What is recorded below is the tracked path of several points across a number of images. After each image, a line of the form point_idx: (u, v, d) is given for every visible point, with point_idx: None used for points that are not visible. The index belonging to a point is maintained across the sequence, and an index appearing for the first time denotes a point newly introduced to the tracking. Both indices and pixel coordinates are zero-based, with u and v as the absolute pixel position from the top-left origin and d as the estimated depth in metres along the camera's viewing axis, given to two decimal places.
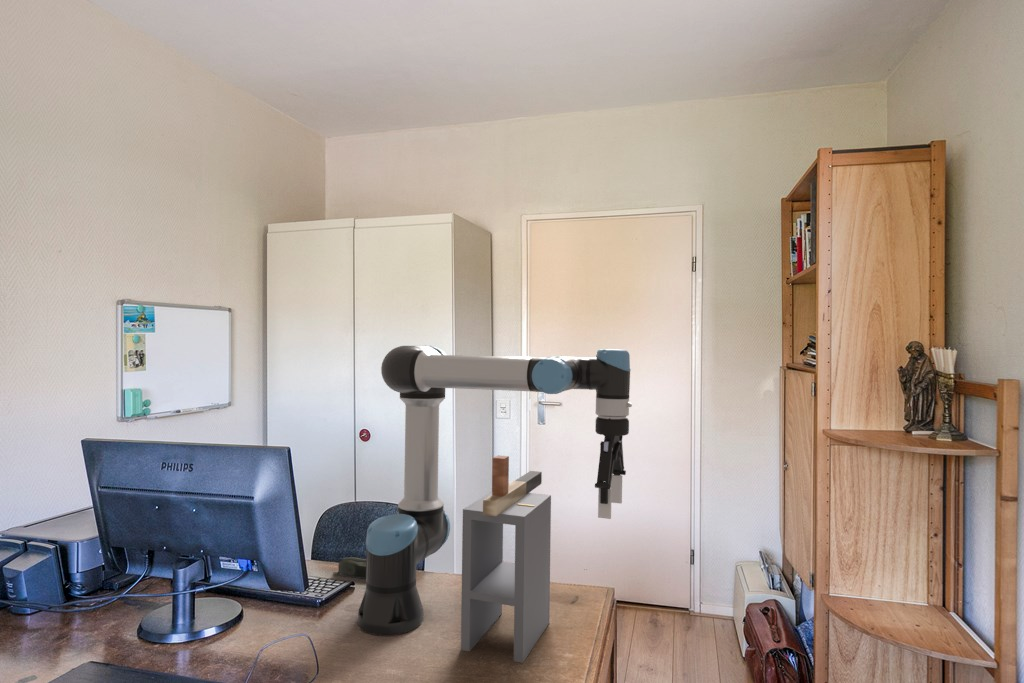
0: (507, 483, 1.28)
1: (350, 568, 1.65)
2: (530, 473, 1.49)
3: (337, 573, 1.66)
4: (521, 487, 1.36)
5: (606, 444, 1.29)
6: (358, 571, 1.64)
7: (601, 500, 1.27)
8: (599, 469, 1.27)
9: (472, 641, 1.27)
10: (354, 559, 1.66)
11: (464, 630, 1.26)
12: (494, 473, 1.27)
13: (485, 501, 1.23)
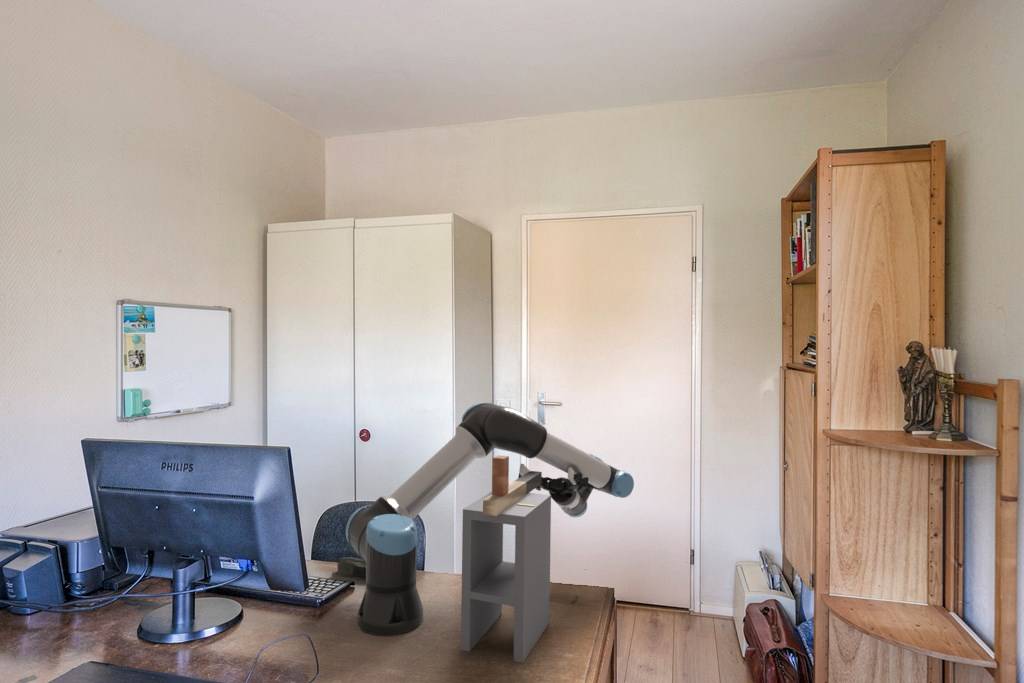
0: (507, 483, 1.28)
1: (348, 568, 1.64)
2: (530, 473, 1.49)
3: (336, 573, 1.66)
4: (521, 487, 1.36)
5: None
6: (356, 571, 1.64)
7: (578, 476, 1.59)
8: None
9: (472, 641, 1.27)
10: (352, 559, 1.66)
11: (464, 630, 1.26)
12: (494, 473, 1.27)
13: (485, 501, 1.23)
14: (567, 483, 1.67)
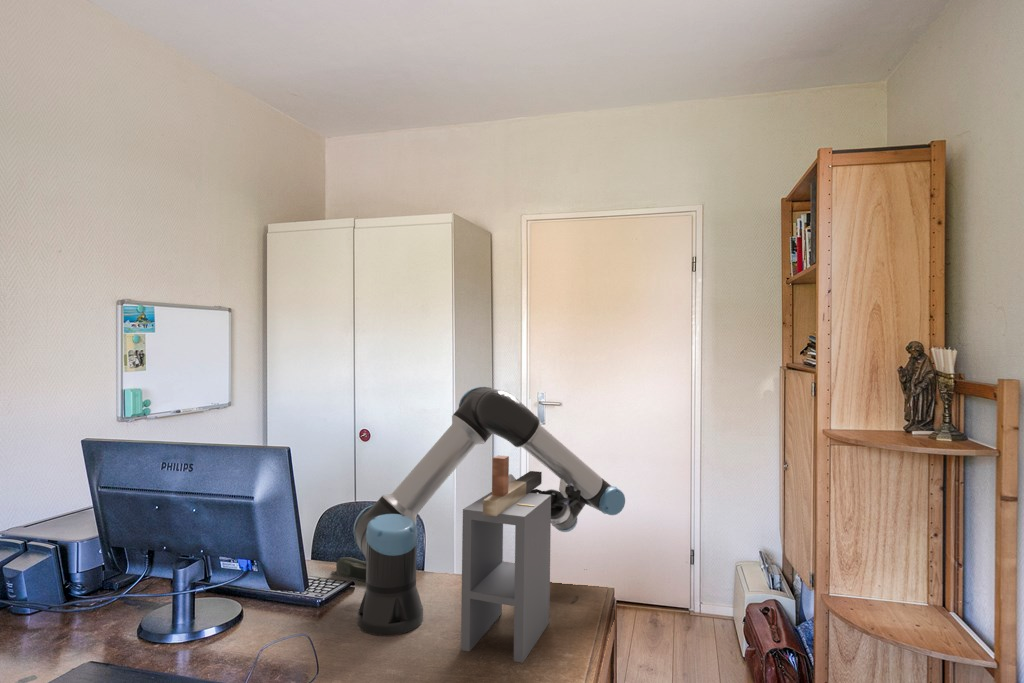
0: (507, 483, 1.28)
1: (345, 568, 1.64)
2: (530, 473, 1.49)
3: (335, 572, 1.67)
4: (521, 487, 1.36)
5: None
6: (353, 572, 1.63)
7: (570, 488, 1.49)
8: None
9: (472, 641, 1.27)
10: (350, 559, 1.65)
11: (464, 630, 1.26)
12: (494, 473, 1.27)
13: (485, 501, 1.23)
14: (558, 496, 1.57)
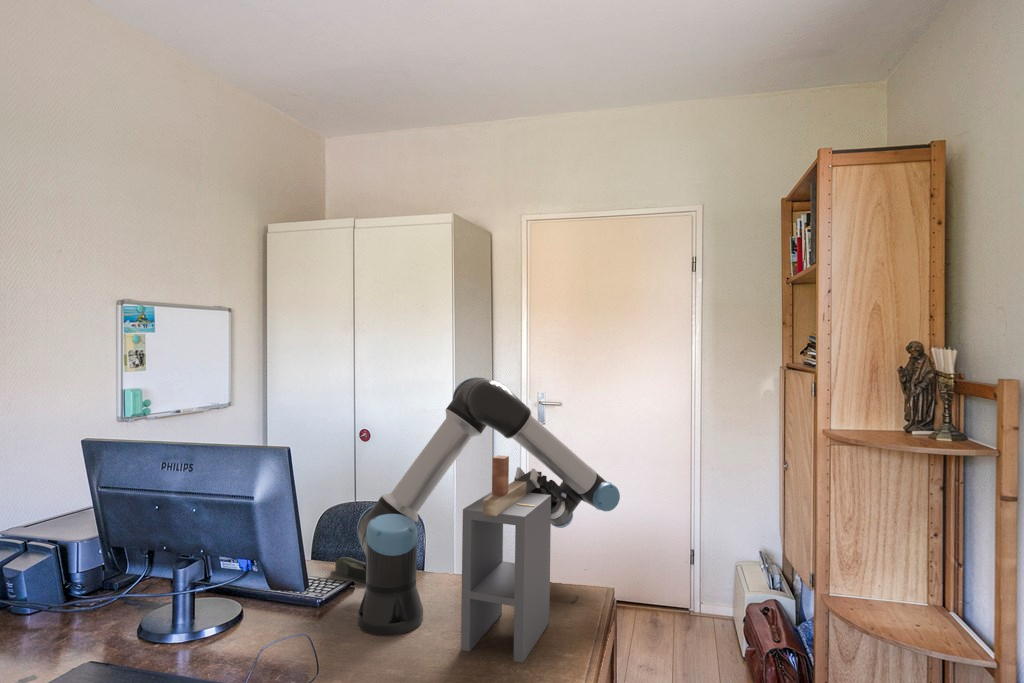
0: (507, 483, 1.28)
1: (343, 568, 1.64)
2: (530, 473, 1.49)
3: (334, 572, 1.67)
4: (521, 487, 1.36)
5: (565, 496, 1.54)
6: (350, 572, 1.63)
7: (542, 478, 1.46)
8: (557, 485, 1.51)
9: (472, 641, 1.27)
10: (349, 559, 1.65)
11: (464, 630, 1.26)
12: (494, 473, 1.27)
13: (485, 501, 1.23)
14: None
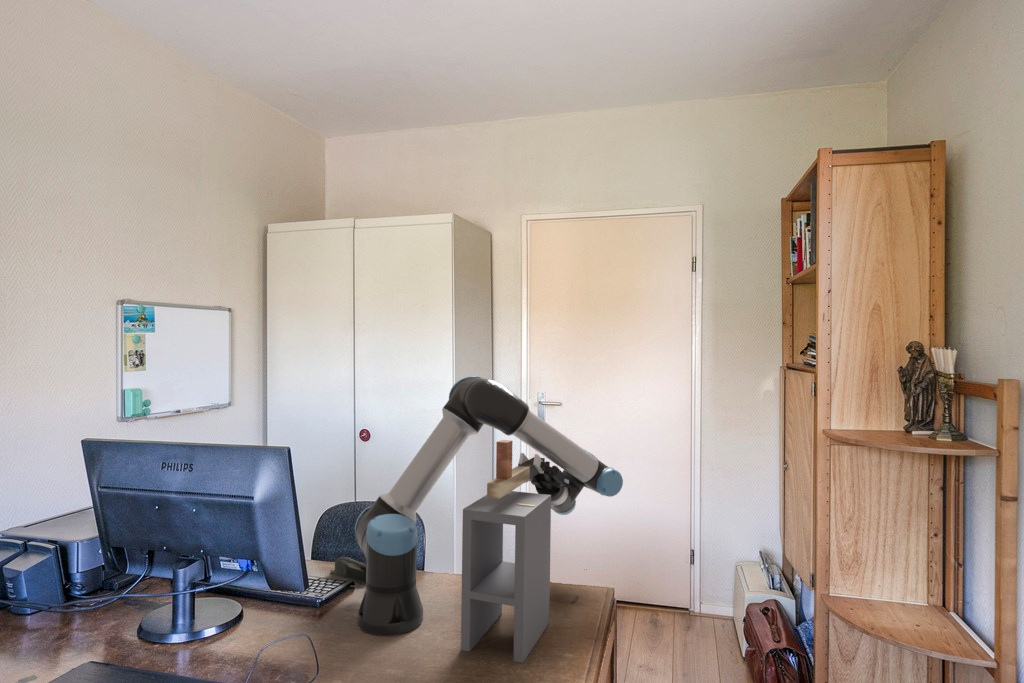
0: (511, 467, 1.31)
1: (342, 568, 1.64)
2: (533, 459, 1.51)
3: (333, 571, 1.67)
4: (524, 472, 1.39)
5: (568, 482, 1.56)
6: (348, 572, 1.63)
7: (545, 463, 1.48)
8: (560, 471, 1.53)
9: (472, 641, 1.27)
10: (347, 559, 1.65)
11: (464, 630, 1.26)
12: (498, 457, 1.29)
13: (489, 484, 1.25)
14: None
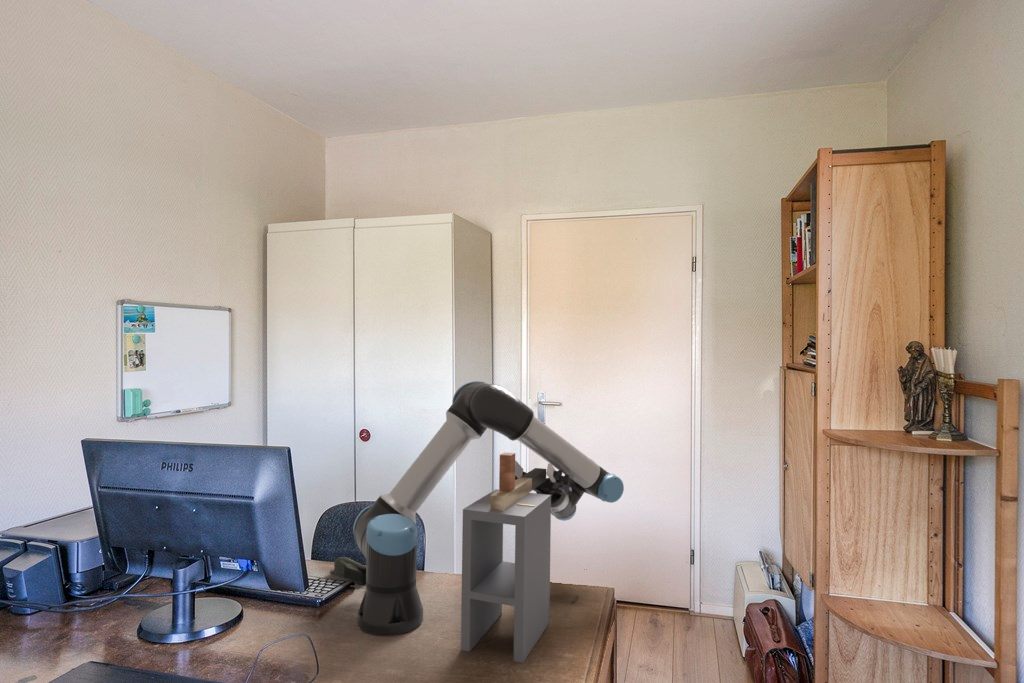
0: (514, 479, 1.32)
1: (340, 568, 1.64)
2: (535, 470, 1.53)
3: (333, 571, 1.67)
4: (527, 483, 1.40)
5: (571, 490, 1.59)
6: (346, 572, 1.63)
7: (558, 473, 1.49)
8: (569, 480, 1.54)
9: (472, 641, 1.27)
10: (346, 559, 1.65)
11: (464, 630, 1.26)
12: (501, 469, 1.31)
13: (493, 496, 1.26)
14: (552, 482, 1.57)
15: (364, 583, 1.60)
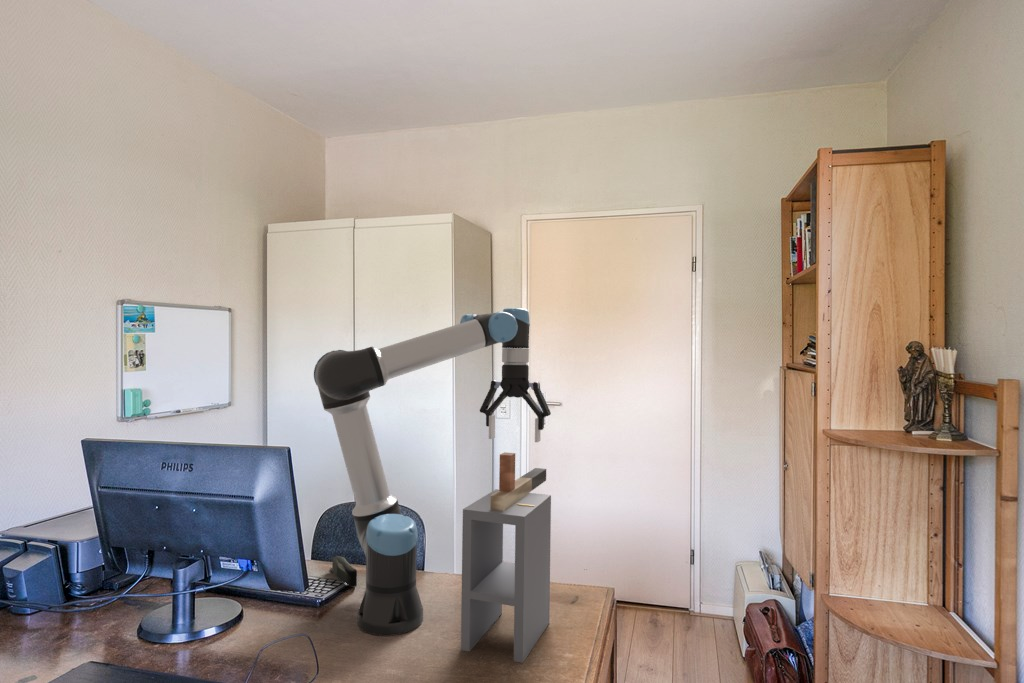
0: (514, 479, 1.32)
1: (334, 567, 1.65)
2: (535, 470, 1.53)
3: (331, 569, 1.69)
4: (527, 483, 1.40)
5: (538, 383, 1.63)
6: (338, 572, 1.63)
7: (542, 427, 1.62)
8: (543, 403, 1.61)
9: (472, 641, 1.27)
10: (340, 559, 1.65)
11: (464, 630, 1.26)
12: (501, 469, 1.31)
13: (493, 496, 1.26)
14: None
15: (349, 585, 1.58)
